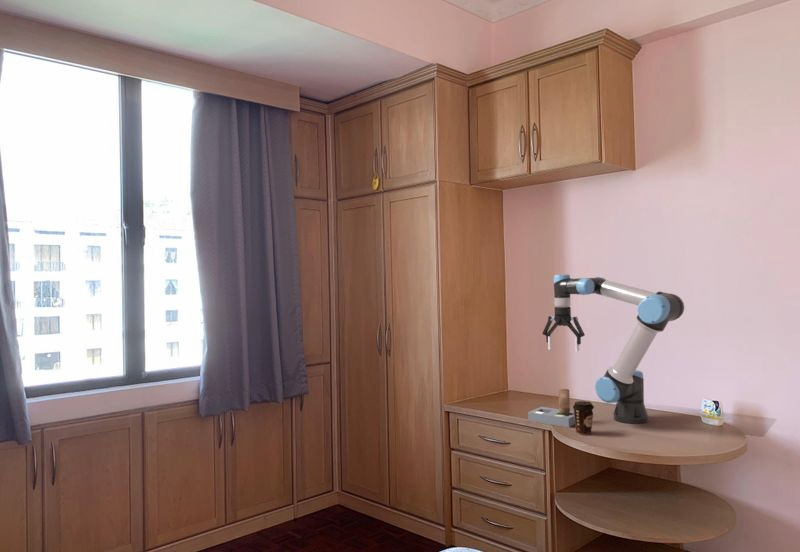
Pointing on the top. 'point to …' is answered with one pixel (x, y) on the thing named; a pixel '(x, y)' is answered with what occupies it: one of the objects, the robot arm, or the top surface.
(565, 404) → the walnut plug
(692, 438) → the top surface
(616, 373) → the robot arm
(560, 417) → the socket block
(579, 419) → the coffee cup
